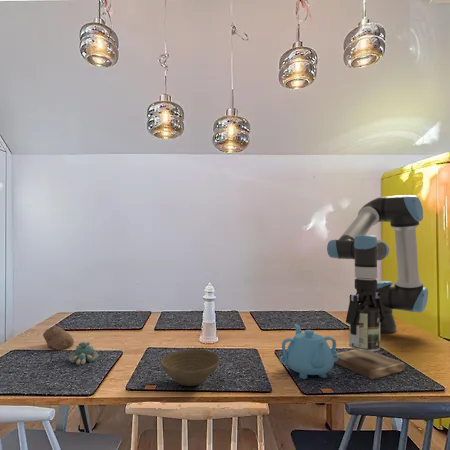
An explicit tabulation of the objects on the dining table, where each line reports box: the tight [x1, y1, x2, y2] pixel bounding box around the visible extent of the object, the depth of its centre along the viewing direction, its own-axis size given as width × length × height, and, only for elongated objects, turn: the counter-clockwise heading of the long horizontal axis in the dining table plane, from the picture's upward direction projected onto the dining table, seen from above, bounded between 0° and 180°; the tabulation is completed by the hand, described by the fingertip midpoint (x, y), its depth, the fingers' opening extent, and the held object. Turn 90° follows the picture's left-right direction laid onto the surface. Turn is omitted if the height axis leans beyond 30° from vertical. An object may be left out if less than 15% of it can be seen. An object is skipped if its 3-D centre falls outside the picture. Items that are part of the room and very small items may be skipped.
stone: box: [42, 325, 75, 351], centre depth 148 cm, size 12×9×10 cm
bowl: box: [159, 349, 220, 387], centre depth 112 cm, size 18×18×8 cm
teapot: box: [279, 323, 338, 380], centre depth 122 cm, size 16×20×14 cm
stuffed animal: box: [67, 341, 99, 366], centre depth 132 cm, size 11×7×12 cm
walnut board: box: [333, 349, 406, 380], centre depth 127 cm, size 16×18×2 cm
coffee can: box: [348, 305, 381, 352], centre depth 128 cm, size 10×10×14 cm
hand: (366, 341), depth 128 cm, fingers closed on coffee can, 10 cm apart
